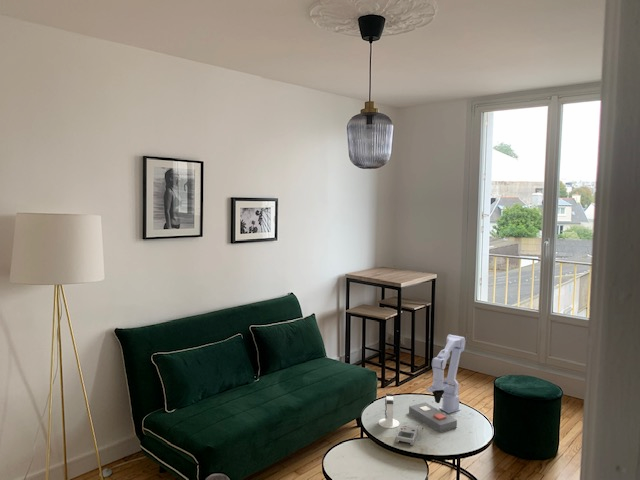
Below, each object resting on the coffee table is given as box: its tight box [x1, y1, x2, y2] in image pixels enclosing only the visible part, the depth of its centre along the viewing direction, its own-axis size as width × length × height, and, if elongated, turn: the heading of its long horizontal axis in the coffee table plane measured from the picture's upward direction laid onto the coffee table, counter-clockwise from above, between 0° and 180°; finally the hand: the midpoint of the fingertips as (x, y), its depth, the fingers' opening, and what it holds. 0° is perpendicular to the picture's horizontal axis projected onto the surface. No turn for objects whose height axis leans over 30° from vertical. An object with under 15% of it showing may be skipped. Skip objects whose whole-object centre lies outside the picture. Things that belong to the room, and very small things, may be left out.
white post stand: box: [378, 393, 400, 429], centre depth 269 cm, size 12×11×15 cm
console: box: [408, 402, 458, 433], centre depth 274 cm, size 26×12×4 cm, turn 29°
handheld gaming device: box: [395, 425, 419, 446], centre depth 253 cm, size 9×15×4 cm, turn 159°
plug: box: [419, 406, 431, 412], centre depth 279 cm, size 5×5×4 cm
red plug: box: [433, 413, 446, 420], centre depth 269 cm, size 5×5×4 cm
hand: (437, 402), depth 274 cm, fingers closed
